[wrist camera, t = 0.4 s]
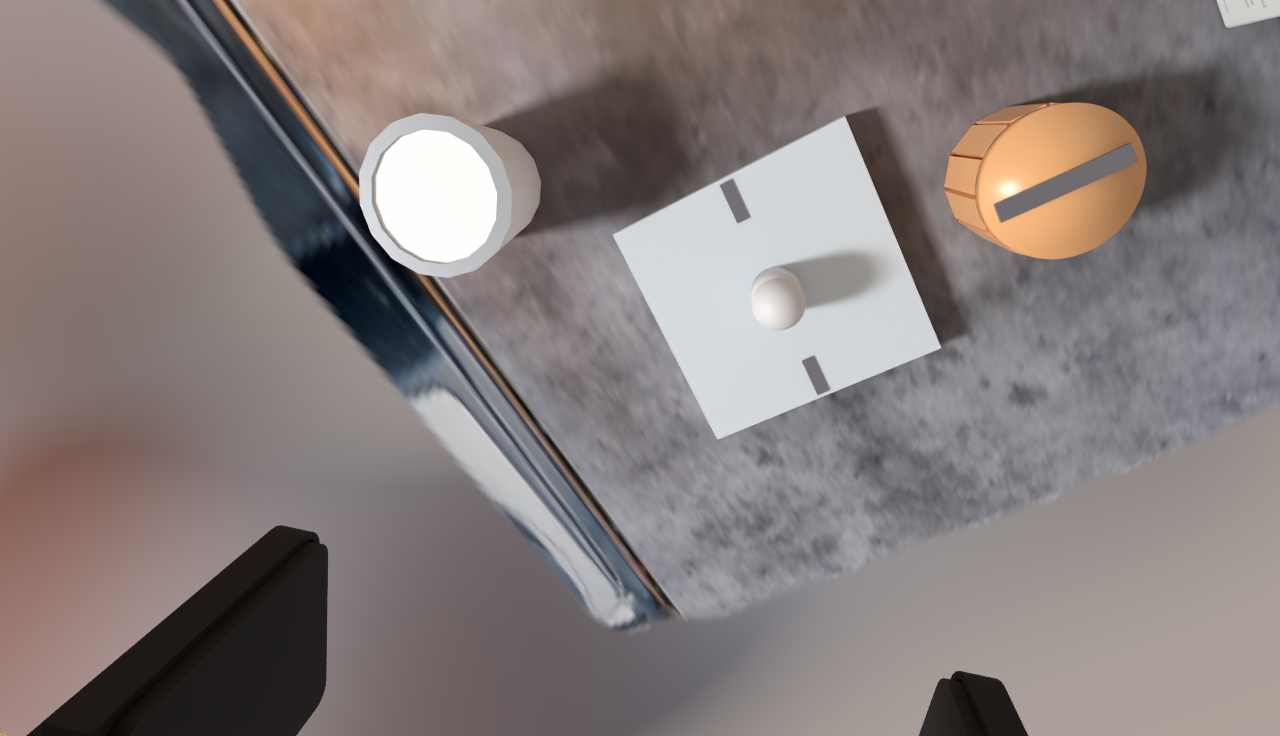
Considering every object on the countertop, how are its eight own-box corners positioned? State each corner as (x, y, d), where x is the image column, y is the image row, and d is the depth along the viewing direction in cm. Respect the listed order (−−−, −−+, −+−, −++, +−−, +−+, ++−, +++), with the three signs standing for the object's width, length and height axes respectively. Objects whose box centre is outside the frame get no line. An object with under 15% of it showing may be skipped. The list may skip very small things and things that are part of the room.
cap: (1059, 81, 32) (1122, 72, 27) (1101, 204, 34) (1169, 219, 28) (926, 145, 34) (961, 149, 28) (972, 260, 35) (1013, 284, 30)
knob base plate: (840, 116, 34) (858, 114, 29) (933, 339, 37) (965, 374, 31) (617, 230, 37) (597, 247, 32) (718, 428, 40) (714, 473, 34)
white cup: (580, 178, 36) (544, 189, 30) (501, 279, 39) (452, 310, 32) (473, 85, 36) (412, 75, 29) (400, 193, 38) (327, 207, 31)
